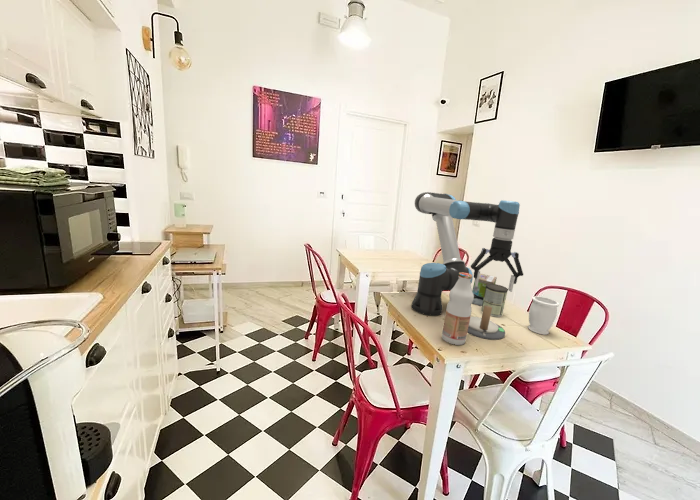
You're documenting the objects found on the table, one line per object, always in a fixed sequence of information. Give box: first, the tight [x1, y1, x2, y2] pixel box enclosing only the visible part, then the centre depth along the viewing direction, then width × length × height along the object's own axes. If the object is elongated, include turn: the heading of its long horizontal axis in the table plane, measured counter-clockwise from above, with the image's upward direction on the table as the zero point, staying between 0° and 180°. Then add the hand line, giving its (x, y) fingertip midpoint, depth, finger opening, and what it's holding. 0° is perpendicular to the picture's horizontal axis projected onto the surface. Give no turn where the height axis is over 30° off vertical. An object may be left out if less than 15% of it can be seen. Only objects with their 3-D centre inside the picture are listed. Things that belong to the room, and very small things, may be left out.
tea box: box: [472, 272, 497, 307], centre depth 173 cm, size 15×10×15 cm
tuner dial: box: [469, 305, 499, 333], centre depth 136 cm, size 16×14×11 cm
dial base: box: [467, 322, 506, 341], centre depth 138 cm, size 20×20×1 cm
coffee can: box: [480, 283, 509, 318], centre depth 158 cm, size 10×10×14 cm
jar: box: [527, 295, 560, 336], centre depth 141 cm, size 11×10×15 cm
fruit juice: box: [441, 272, 474, 346], centre depth 122 cm, size 9×9×28 cm
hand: (492, 288), depth 130 cm, fingers open, 13 cm apart
